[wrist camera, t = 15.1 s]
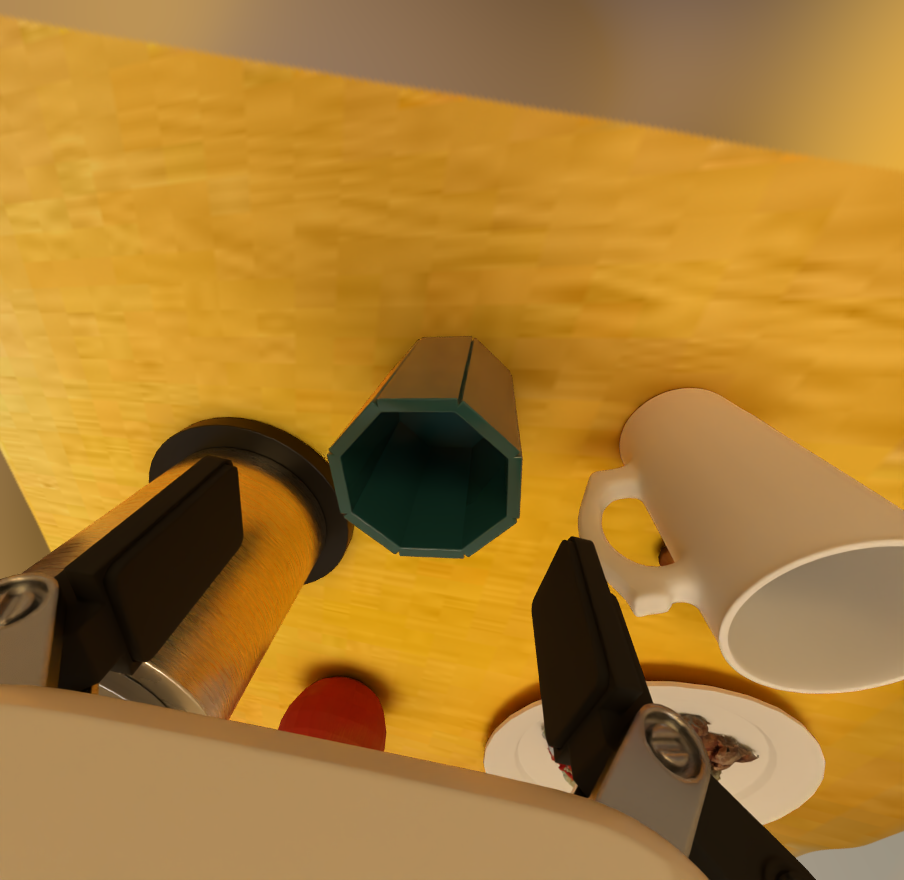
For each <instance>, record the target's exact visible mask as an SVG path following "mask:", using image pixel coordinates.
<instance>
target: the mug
mask: <svg viewBox="0 0 904 880" xmlns="http://www.w3.org/2000/svg"><path fill="white" fill-rule="evenodd" d="M619 448H620V455H621V459H622V461H623V464H624V466H623V467H620V468H616V469H612V470H605V471H598V472H594V473H592V474H591V476H590V478H589V481H588V484H587V487H586V490H585V493H584V497H583V500H582V503H581V506H580V510H579V516H578V531H579V537H580V538H582V539H587V540H591V541H592V542H593V543H594V545H595V548H596V551H597V554H598V557H599V560H600V563H601V566H602V569H603V572H604V575H605V578H606V581H607V582H608V583H609V584H610V585H611V586H612V587H613V588H614V589H615V590H616V591H617V592H618V593H619V594H620V595H621V596H622V597H623V598H624V599H625V600H626V601H627V602H628V604H629V606H630V607H631V609H632V611H633V613H634V614H635V615H636V616H638V617H641V616H645V615H649V614H657V613H664V612H667V611H668V610H669V609H670V607H671V605H672V604H673V603H676V602H686V603H690V604H692V605H694V606H696V607H697V608H698V609H699V610H700V612H701V613H702V615H703V617H704V619H705V621H706V622H707V624H708V626H709V628H710V629H711V631H712V633H713V635H714V636H715V638H716V640H717V642H718V643H719V647H720V650H721V652H722V654H723V656H724V658H725V659H726V661H727V662H728V663H729V665H730V666H731V667H732V668H733V669H734V670H736V671H737V672H738V673H740V674H741V675H743V676H744V677H746V678H748V679H750V680H752V681H754V682H756V683H759V684H761V685H764V686H767V687H771V688H774V689H779V690H784V691H790V692H798V693H815V694H823V693H842V692H851V691H858V690H864V689H870V688H875V687H879V686H883V685H887V684H891V683H894V682H898V681H901V680H904V510H902V509H900V508H899V507H897V506H896V505H894V504H893V503H891V502H890V501H888V500H886V499H885V498H883V497H882V496H880V495H878V494H877V493H875V492H874V491H872V490H870V489H869V488H867V487H866V486H864V485H863V484H861V483H859V482H858V481H856V480H855V479H853V478H851V477H850V476H848V475H847V474H845V473H843V472H842V471H840V470H839V469H837V468H836V467H834V466H832V465H831V464H829V463H828V462H826V461H824V460H823V459H821V458H820V457H818V456H816V455H815V454H813V453H812V452H810V451H809V450H807V449H805V448H804V447H802V446H801V445H799V444H797V443H796V442H794V441H793V440H791V439H790V438H788V437H786V436H785V435H783V434H782V433H780V432H778V431H777V430H775V429H774V428H772V427H771V426H769V425H768V424H766V423H764V422H763V421H761V420H760V419H758V418H757V417H755V416H754V415H752V414H750V413H748V412H747V411H745V410H743V409H741V408H740V407H738V406H736V405H735V404H733V403H731V402H730V401H728V400H727V399H725V398H724V397H722V396H720V395H718V394H716V393H714V392H711V391H708V390H704V389H698V388H683V389H676V390H672V391H668V392H665V393H662V394H660V395H658V396H656V397H654V398H652V399H650V400H649V401H647V402H646V403H644V404H643V405H642V406H640V407H639V408H638V409H637V410H636V411H635V412H634V413H633V414H632V416H631V417H630V418H629V419H628V421H627V423H626V424H625V426H624V428H623V431H622V433H621V437H620V444H619ZM623 498H637V499H639V500H641V501H642V502H643V503H644V505H645V507H646V508H647V510H648V512H649V514H650V516H651V518H652V520H653V522H654V524H655V525H656V527H657V529H658V531H659V533H660V535H661V537H662V539H663V541H664V543H665V545H666V547H667V548H668V550H669V552H670V554H671V556H672V558H673V560H674V562H675V563H673V564H670V565H667V566H659V567H653V566H644V565H641V564H638V563H635V562H633V561H631V560H629V559H627V558H625V557H624V556H622V555H621V554H620V553H618V552H617V551H616V550H615V549H614V548H613V547H612V546H611V545H610V544H609V542H608V541H607V539H606V537H605V535H604V533H603V530H602V523H601V522H602V514H603V511H604V510H605V508H606V507H607V506H608V505H609V504H610V503H611V502H612V501H614V500H618V499H623Z"/></svg>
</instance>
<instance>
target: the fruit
mask: <svg viewBox="0 0 904 880" xmlns="http://www.w3.org/2000/svg"><path fill="white" fill-rule="evenodd" d="M278 730H280V731H285V732H290V733H295V734H300V735H305V736H310V737H315V738H320V739H325V740H330V741H334V742H339V743H344V744H349V745H354V746H359V747H364V748H369V749H373V750H378V751H383V752H384V749H385V739H386V726H385V718H384V712H383V709H382V706H381V704H380V701H379V699H378V697H377V696H376V695H375V693H374V692H373V691H372V690H370V689H369V688H368V687H367V686H366V685H364V684H363V683H362V682H359V681H357V680H355V679H352V678H349V677H331V678H324V679H321V680H319V681H317V682H315V683H313V684H312V685H310V686H309V687H307V688H306V689H305V690H304V691H303V692H302V693H301V694H300V695H299V696H298V697H297V698H296V699H295V700H294V701H293V702H292V704H291V705H290V706H289V708H288V709H287V711H286V713H285V714H284V716H283V718H282V720H281V722H280V726H279V729H278Z"/></svg>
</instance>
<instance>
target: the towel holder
mask: <svg viewBox="0 0 904 880" xmlns="http://www.w3.org/2000/svg"><path fill="white" fill-rule="evenodd" d="M207 455H211V456H215V457H220V458H224V459H229V460H231V461H232V463H233V466H235V467H237V469H238V477H239V488H240V499H241V511H242V522H243V533H244V538H243V542H242V544H241V546H240V548H239V549H238V551H237V552H236V553H235V555H234V556H233V557H232V558H231V560H230V561H229V562H228V563H227V565H226V566H225V567H224V569H223V570H222V571H221V572H220V574H219V575H218V576H217V577H216V579H215V580H214V581H213V583H212V584H211V585H210V586H209V588H208V589H207V590H206V591H205V593H204V594H203V595H202V597H201V598H200V599H199V600H198V602H197V603H196V604H195V605H194V607H193V608H192V609H191V611H190V612H189V613H188V614H187V616H186V617H185V618H184V619H183V621H182V622H181V623H180V625H179V626H178V627H177V628H176V630H175V631H174V632H173V633H172V635H171V636H170V637H169V639H168V640H167V641H166V642H165V644H164V645H163V646H162V647H161V649H160V650H159V651H158V653H157V654H156V655H155V656H154V657H153V658H152V659H151V660H150V661H148V662H143V663H142V664H141V665H140V666H139V668H138V669H137V670H136V671H135V673H134V674H133V675H127V674H122V673H117V672H112V671H109V672H108V673H107V674H106V676H105V677H104V678H103V679H102V680H101V681H100V683H99V693H98V695H101V696H106V697H112V698H117V699H123V700H129V701H134V702H140V703H145V704H150V705H155V706H160V707H165V708H170V709H175V710H180V711H185V712H191V713H196V714H201V715H206V716H211V717H216V718H221V719H226V720H229V718H230V716H231V714H232V713H233V711H234V709H235V707H236V705H237V704H238V702H239V700H240V698H241V696H242V695H243V693H244V691H245V689H246V687H247V686H248V684H249V682H250V680H251V678H252V677H253V675H254V673H255V671H256V669H257V668H258V666H259V664H260V662H261V660H262V659H263V657H264V655H265V653H266V651H267V650H268V648H269V646H270V644H271V642H272V640H273V639H274V637H275V635H276V633H277V631H278V630H279V628H280V626H281V624H282V622H283V621H284V619H285V617H286V615H287V613H288V612H289V610H290V608H291V606H292V604H293V603H294V601H295V599H296V597H297V595H298V594H299V592H300V590H301V588H302V586H303V585H304V584H308V583H311V582H314V581H316V580H318V579H320V578H322V577H324V576H325V575H327V574H328V573H329V572H331V571H332V570H333V569H334V568H335V567H336V566H337V565H338V563H339V562H340V561H341V559H342V558H343V556H344V553H345V551H346V549H347V547H348V545H349V543H350V540H351V537H352V533H353V524H352V523H351V522H349V521H348V520H346V519H345V518H344V515H345V514H341V513H340V509H339V505H338V501H337V496H336V492H335V488H334V483H333V479H332V475H331V470H330V466H329V464H328V463H327V462H326V461H325V460H324V459H323V458H322V457H321V456H320V455H319V454H317V453H316V452H315V451H314V450H313V449H312V448H310V447H309V446H308V445H306V444H305V443H303V442H302V441H300V440H299V439H297V438H296V437H294V436H292V435H290V434H288V433H287V432H285V431H282V430H280V429H278V428H275V427H273V426H271V425H268V424H264V423H261V422H258V421H253V420H248V419H243V418H231V417H226V418H213V419H208V420H203V421H200V422H197V423H195V424H192V425H190V426H188V427H187V428H185V429H183V430H182V431H180V432H178V433H177V434H175V435H173V436H172V437H170V438H169V439H168V440H167V441H166V442H164V443H163V444H162V445H161V447H160V448H159V449H158V451H157V452H156V454H155V456H154V458H153V460H152V463H151V467H150V471H149V484H148V485H146V486H145V487H143V488H142V489H140V490H139V491H138V492H136V493H135V494H133V495H132V496H131V497H129V498H128V499H126V500H125V501H123V502H122V503H121V504H119V505H118V506H116V507H115V508H113V509H112V510H111V511H109V512H108V513H106V514H105V515H104V516H102V517H101V518H99V519H98V520H96V521H95V522H94V523H92V524H91V525H89V526H88V527H87V528H85V529H84V530H82V531H81V532H79V533H78V534H77V535H75V536H74V537H72V538H71V539H70V540H68V541H67V542H65V543H64V544H62V545H61V546H60V547H58V548H57V549H55V550H54V551H52V552H51V553H50V554H48V555H47V556H46V557H44V558H43V559H41V560H40V561H38V562H37V563H35V564H34V565H33V566H31V567H30V568H28V569H27V570H26V571H24V572H23V573H44V574H47V575H50V576H52V577H55V576H56V575H58V574H59V573H60V572H61V571H63V570H64V569H63V568H65V567H66V566H67V565H68V564H70V563H71V562H72V561H74V560H75V559H76V558H77V557H79V556H80V555H81V554H82V553H84V552H85V551H86V550H87V549H89V548H90V547H91V546H92V545H94V544H95V543H96V542H97V541H99V540H100V539H101V538H102V537H104V536H105V535H106V534H108V533H109V532H110V531H111V530H113V529H114V528H115V527H116V526H118V525H119V524H120V523H121V522H123V521H124V520H125V519H126V518H128V517H129V516H130V515H131V514H133V513H134V512H135V511H136V510H138V509H139V508H140V507H141V506H143V505H144V504H145V503H147V502H148V501H149V500H150V499H152V498H153V497H154V496H155V495H157V494H158V493H159V492H160V491H162V490H163V489H164V488H165V487H167V486H168V485H169V484H170V483H172V482H173V481H174V480H175V479H177V478H178V477H179V476H181V475H182V474H183V473H184V472H186V471H187V470H188V469H189V468H191V467H192V466H193V465H194V464H196V463H197V462H198V461H199V460H201V459H202V458H203V457H205V456H207ZM23 573H22V574H23Z"/></svg>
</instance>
